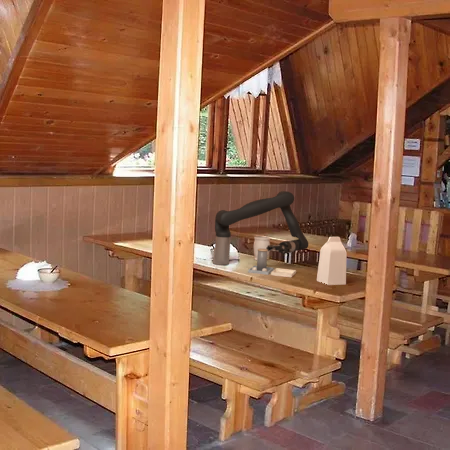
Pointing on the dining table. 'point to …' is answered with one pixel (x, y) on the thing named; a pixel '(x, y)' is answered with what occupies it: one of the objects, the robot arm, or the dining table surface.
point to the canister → (261, 259)
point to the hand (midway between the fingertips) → (273, 249)
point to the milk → (332, 263)
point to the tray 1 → (261, 271)
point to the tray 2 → (283, 272)
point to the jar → (260, 244)
